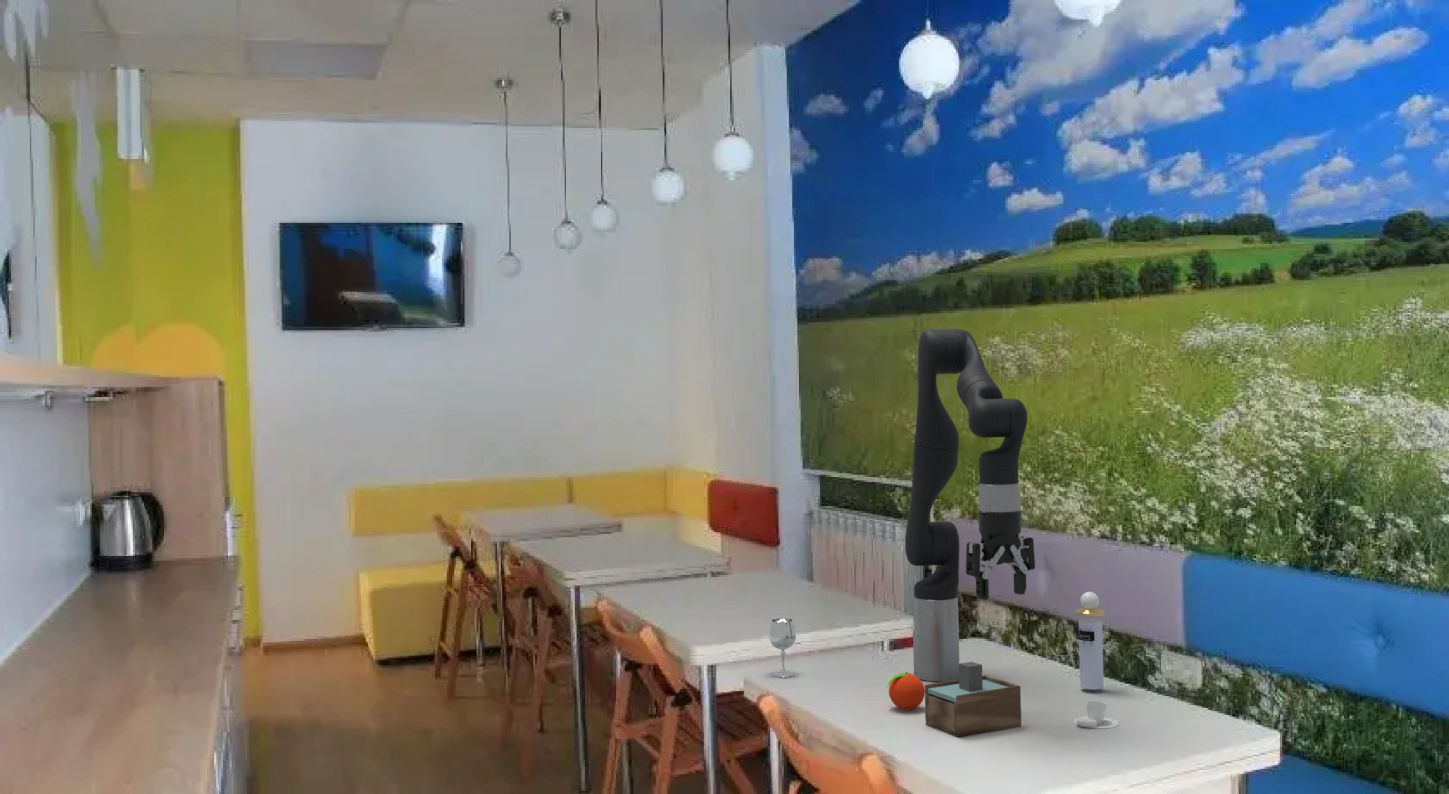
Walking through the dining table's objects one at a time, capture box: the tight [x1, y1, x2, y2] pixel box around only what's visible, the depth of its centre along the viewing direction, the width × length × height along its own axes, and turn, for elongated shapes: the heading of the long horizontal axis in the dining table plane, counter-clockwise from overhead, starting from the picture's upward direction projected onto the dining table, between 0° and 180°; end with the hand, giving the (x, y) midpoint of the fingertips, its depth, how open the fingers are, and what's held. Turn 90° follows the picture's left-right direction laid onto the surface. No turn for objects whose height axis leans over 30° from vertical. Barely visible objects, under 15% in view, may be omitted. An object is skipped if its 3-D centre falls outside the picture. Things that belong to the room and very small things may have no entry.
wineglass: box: [768, 617, 797, 678], centre depth 269 cm, size 6×6×12 cm
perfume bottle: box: [1074, 591, 1106, 691], centre depth 248 cm, size 6×6×20 cm
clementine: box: [886, 672, 925, 711], centre depth 237 cm, size 8×7×7 cm
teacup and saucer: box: [1073, 700, 1120, 730], centre depth 225 cm, size 9×8×4 cm
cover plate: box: [928, 661, 1007, 703], centre depth 225 cm, size 8×13×5 cm, turn 116°
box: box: [924, 674, 1022, 739], centre depth 225 cm, size 10×14×7 cm
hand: (1001, 596), depth 224 cm, fingers open, 8 cm apart
